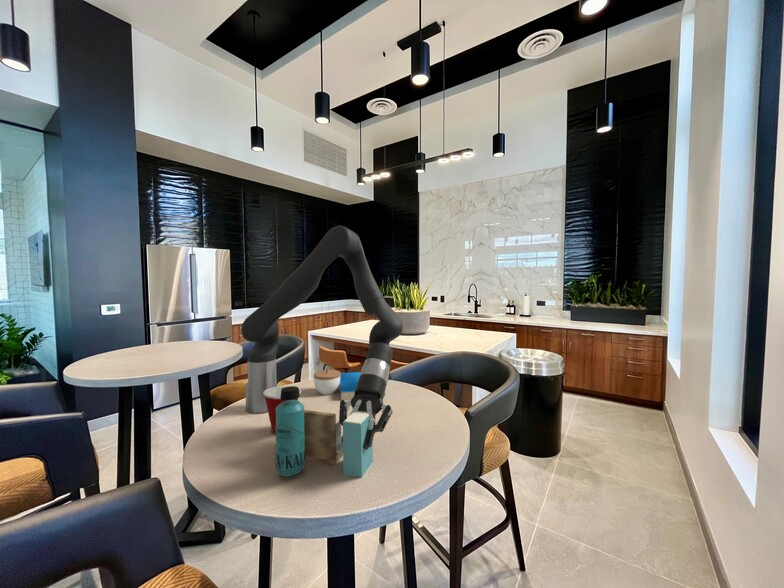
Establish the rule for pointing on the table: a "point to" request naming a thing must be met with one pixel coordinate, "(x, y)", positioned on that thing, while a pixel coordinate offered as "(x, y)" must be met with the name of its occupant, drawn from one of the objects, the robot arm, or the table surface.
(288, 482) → the table surface
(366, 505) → the table surface
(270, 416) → the plastic cup
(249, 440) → the table surface
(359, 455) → the teal book
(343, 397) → the book
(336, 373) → the lidded jar
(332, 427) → the shelf
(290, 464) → the beverage bottle
